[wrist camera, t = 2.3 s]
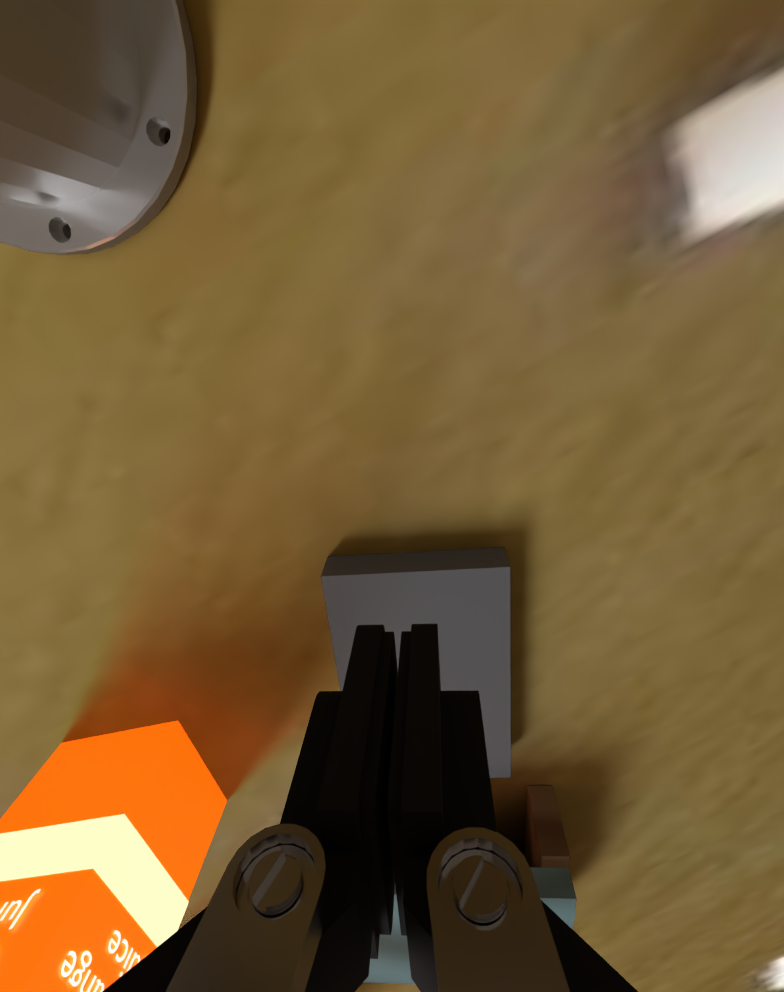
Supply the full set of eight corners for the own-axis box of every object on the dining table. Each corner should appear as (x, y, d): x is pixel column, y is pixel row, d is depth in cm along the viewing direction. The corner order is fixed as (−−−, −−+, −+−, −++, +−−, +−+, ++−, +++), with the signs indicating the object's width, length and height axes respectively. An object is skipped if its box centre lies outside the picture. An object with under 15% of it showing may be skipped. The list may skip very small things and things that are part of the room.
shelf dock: (317, 784, 32) (296, 880, 27) (551, 785, 31) (577, 887, 26) (337, 892, 37) (323, 993, 31) (544, 897, 35) (564, 1003, 30)
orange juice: (59, 741, 32) (-430, 1345, 14) (178, 718, 31) (-192, 1361, 12) (117, 819, 35) (-225, 1409, 17) (229, 802, 33) (-11, 1429, 15)
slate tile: (329, 551, 26) (320, 576, 24) (502, 542, 25) (510, 566, 23) (360, 744, 31) (356, 779, 29) (504, 742, 30) (510, 777, 28)
